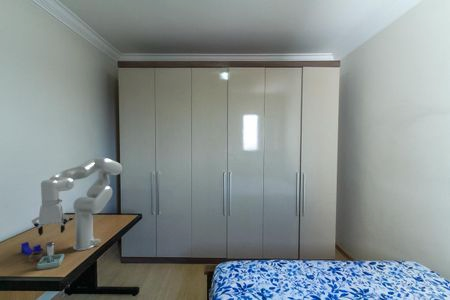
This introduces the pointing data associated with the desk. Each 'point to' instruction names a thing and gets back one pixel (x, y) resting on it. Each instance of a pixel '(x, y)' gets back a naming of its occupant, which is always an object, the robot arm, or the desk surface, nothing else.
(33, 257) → the socket
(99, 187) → the robot arm
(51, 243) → the flashlight
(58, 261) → the tray
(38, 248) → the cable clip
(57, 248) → the desk surface
